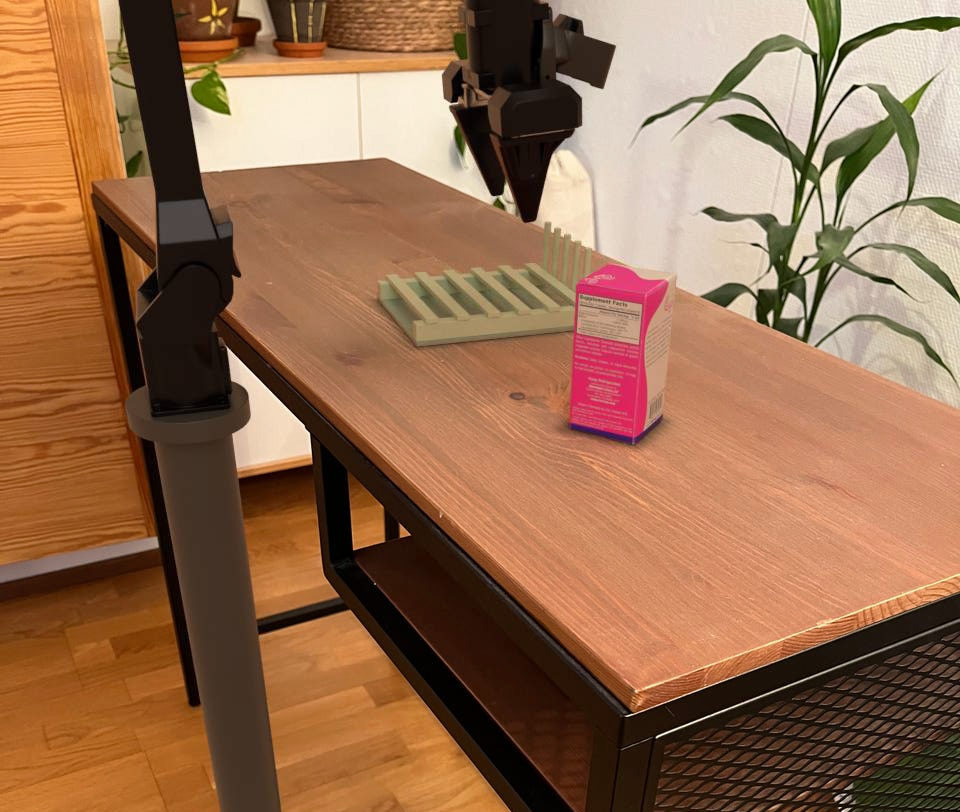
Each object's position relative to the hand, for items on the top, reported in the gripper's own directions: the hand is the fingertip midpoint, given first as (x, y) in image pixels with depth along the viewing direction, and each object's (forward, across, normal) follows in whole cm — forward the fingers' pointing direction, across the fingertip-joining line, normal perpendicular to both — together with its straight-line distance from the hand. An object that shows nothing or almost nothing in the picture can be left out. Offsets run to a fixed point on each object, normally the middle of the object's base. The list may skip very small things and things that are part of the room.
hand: (512, 208), depth 86 cm
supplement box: (+13, -17, -3) cm, 21 cm away
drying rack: (+12, +11, 0) cm, 17 cm away
